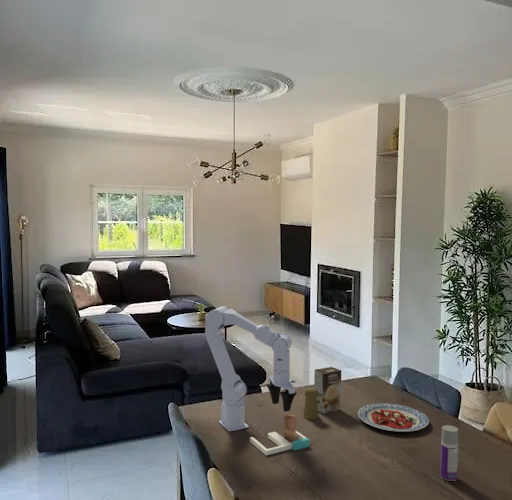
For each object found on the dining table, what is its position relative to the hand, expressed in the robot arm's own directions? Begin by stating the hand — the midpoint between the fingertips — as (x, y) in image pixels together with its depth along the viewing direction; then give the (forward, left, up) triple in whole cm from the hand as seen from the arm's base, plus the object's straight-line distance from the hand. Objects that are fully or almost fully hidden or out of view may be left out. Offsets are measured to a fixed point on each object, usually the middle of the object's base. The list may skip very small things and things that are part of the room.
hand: (281, 407), depth 172 cm
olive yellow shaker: (-7, +18, -10) cm, 22 cm away
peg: (+6, 0, -9) cm, 11 cm away
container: (+49, +28, -10) cm, 57 cm away
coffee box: (-10, +28, -10) cm, 31 cm away
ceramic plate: (+11, +43, -10) cm, 45 cm away
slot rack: (+7, -5, -9) cm, 13 cm away
